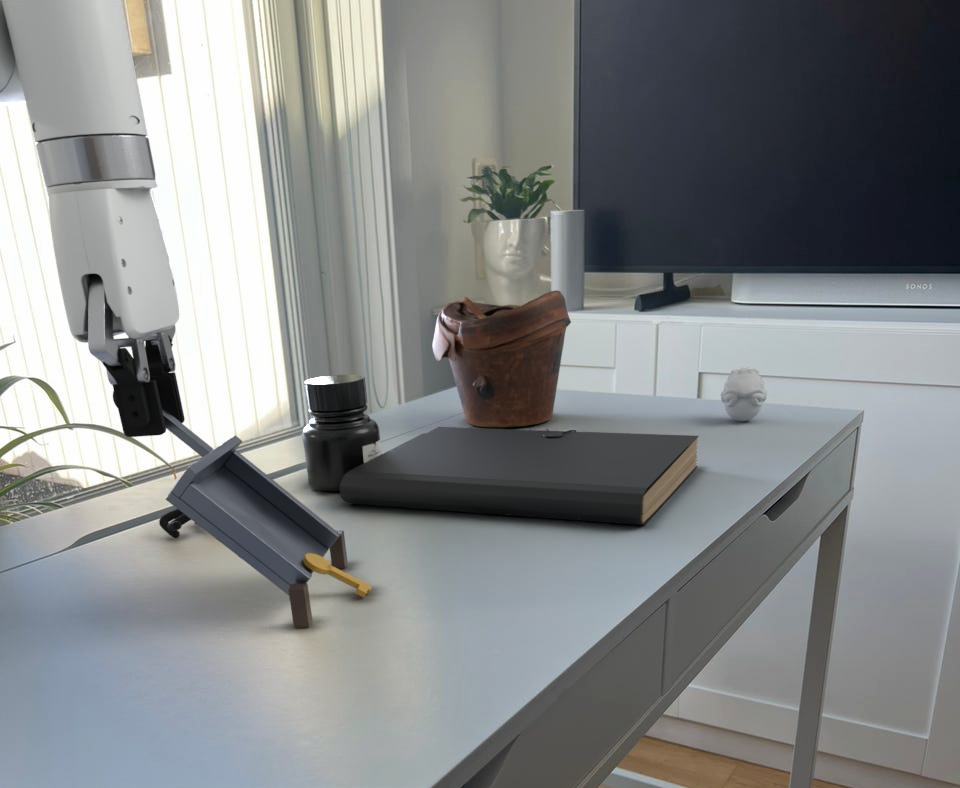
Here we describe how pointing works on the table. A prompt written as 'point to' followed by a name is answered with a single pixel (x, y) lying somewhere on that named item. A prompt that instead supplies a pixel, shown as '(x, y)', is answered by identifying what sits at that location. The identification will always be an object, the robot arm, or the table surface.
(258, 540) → the grey dustpan
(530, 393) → the case
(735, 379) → the grey rounded oval lump
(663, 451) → the black book
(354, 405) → the ink bottle
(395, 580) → the table surface
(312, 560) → the key
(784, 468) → the table surface
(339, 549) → the stand
